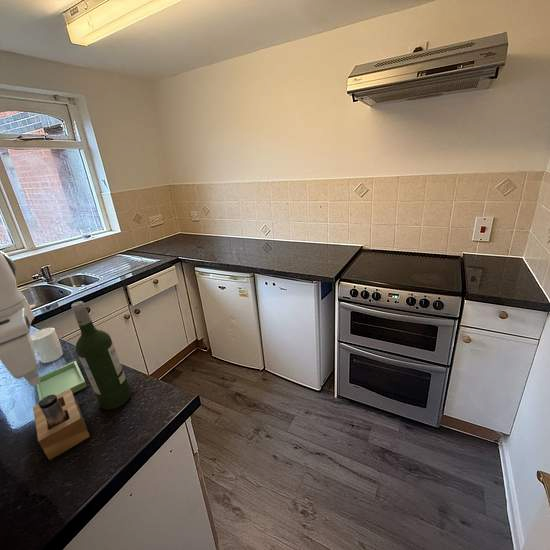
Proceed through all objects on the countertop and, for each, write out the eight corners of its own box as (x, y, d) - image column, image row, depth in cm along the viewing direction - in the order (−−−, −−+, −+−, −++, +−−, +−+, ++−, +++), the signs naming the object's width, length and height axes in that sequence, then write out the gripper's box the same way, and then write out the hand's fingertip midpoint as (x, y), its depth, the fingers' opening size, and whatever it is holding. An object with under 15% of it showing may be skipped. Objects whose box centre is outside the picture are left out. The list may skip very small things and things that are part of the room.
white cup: (38, 358, 108) (26, 334, 104) (64, 348, 112) (53, 325, 109) (40, 367, 102) (27, 343, 98) (66, 356, 107) (55, 332, 103)
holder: (42, 424, 78) (32, 406, 75) (78, 405, 82) (70, 388, 80) (49, 460, 67) (38, 441, 65) (89, 436, 72) (80, 418, 70)
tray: (37, 383, 94) (35, 378, 93) (77, 365, 101) (75, 360, 100) (42, 408, 83) (39, 403, 82) (87, 386, 90) (84, 381, 89)
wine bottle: (137, 394, 84) (101, 298, 73) (110, 414, 78) (66, 314, 67) (122, 385, 88) (85, 294, 77) (95, 404, 82) (52, 308, 71)
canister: (55, 443, 71) (34, 404, 67) (67, 431, 74) (48, 393, 70) (66, 444, 70) (46, 406, 66) (78, 432, 74) (59, 395, 69)
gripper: (-14, 310, 66) (14, 361, 71) (-18, 344, 51) (18, 405, 56) (21, 299, 70) (46, 348, 75) (27, 327, 55) (57, 386, 60)
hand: (34, 373), depth 65 cm, fingers open, 8 cm apart
